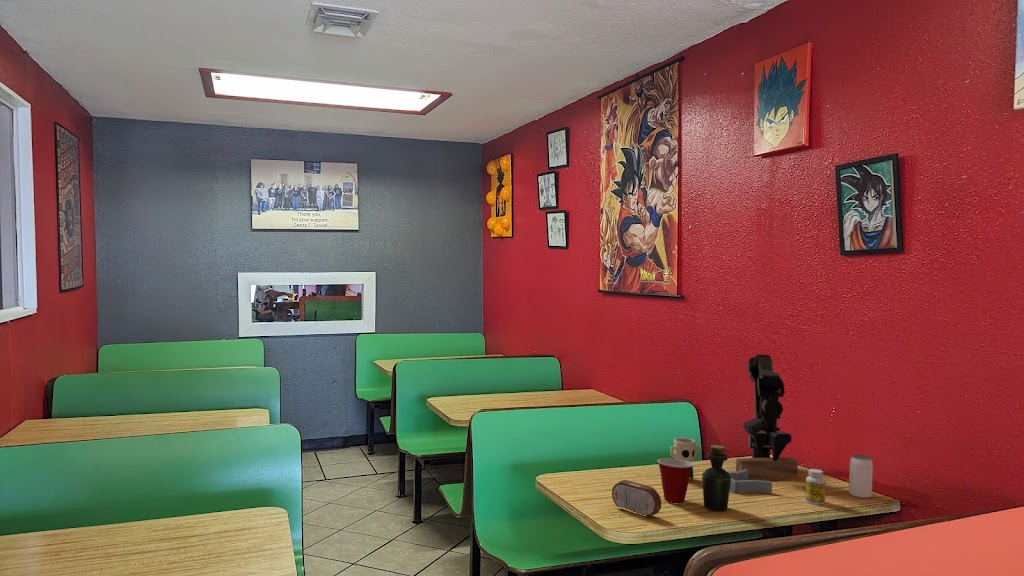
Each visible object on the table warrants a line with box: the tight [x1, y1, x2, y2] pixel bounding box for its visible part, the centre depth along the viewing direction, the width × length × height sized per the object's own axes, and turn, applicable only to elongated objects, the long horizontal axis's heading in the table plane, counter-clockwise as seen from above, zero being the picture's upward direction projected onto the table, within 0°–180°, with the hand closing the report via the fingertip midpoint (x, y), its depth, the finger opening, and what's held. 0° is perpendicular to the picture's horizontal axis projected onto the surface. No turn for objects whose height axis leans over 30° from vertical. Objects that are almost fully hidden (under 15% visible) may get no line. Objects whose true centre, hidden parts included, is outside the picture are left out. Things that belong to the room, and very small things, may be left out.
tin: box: [611, 479, 662, 518], centre depth 200 cm, size 15×3×8 cm, turn 48°
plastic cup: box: [656, 458, 695, 504], centre depth 211 cm, size 11×11×12 cm
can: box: [848, 454, 874, 499], centre depth 221 cm, size 6×6×12 cm
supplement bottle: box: [805, 468, 826, 506], centre depth 213 cm, size 5×5×10 cm
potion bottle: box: [701, 444, 731, 513], centre depth 205 cm, size 8×8×18 cm
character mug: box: [669, 437, 700, 481], centre depth 234 cm, size 11×7×13 cm, turn 111°
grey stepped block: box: [727, 469, 773, 494], centre depth 226 cm, size 12×15×4 cm
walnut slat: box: [735, 457, 799, 479], centre depth 239 cm, size 4×20×6 cm, turn 97°
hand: (767, 457), depth 239 cm, fingers open, 9 cm apart
